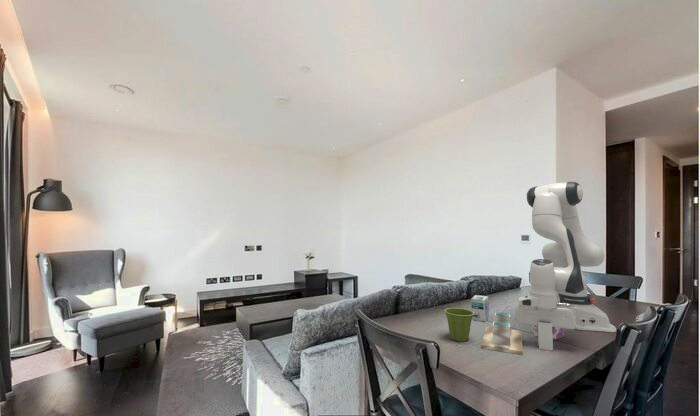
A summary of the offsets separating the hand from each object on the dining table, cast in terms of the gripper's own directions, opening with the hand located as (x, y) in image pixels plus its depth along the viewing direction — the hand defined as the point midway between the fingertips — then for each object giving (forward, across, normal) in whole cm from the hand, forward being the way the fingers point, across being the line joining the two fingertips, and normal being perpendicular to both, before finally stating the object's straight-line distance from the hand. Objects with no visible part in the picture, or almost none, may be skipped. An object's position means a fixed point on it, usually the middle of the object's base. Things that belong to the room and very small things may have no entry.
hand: (544, 337), depth 123 cm
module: (+4, 0, 0) cm, 4 cm away
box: (+4, -3, -14) cm, 15 cm away
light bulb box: (+4, +26, -30) cm, 40 cm away
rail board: (+4, +15, 0) cm, 15 cm away
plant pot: (+4, +31, +6) cm, 32 cm away
